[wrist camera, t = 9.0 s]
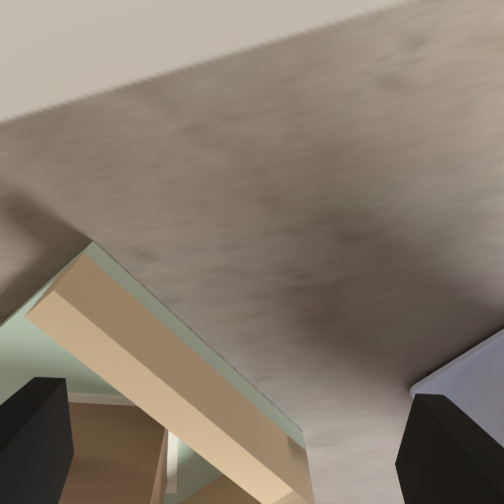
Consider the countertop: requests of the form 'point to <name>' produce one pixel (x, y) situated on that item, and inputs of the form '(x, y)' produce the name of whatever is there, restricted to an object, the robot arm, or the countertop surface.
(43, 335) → the corner board
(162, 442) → the walnut block
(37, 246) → the countertop surface
